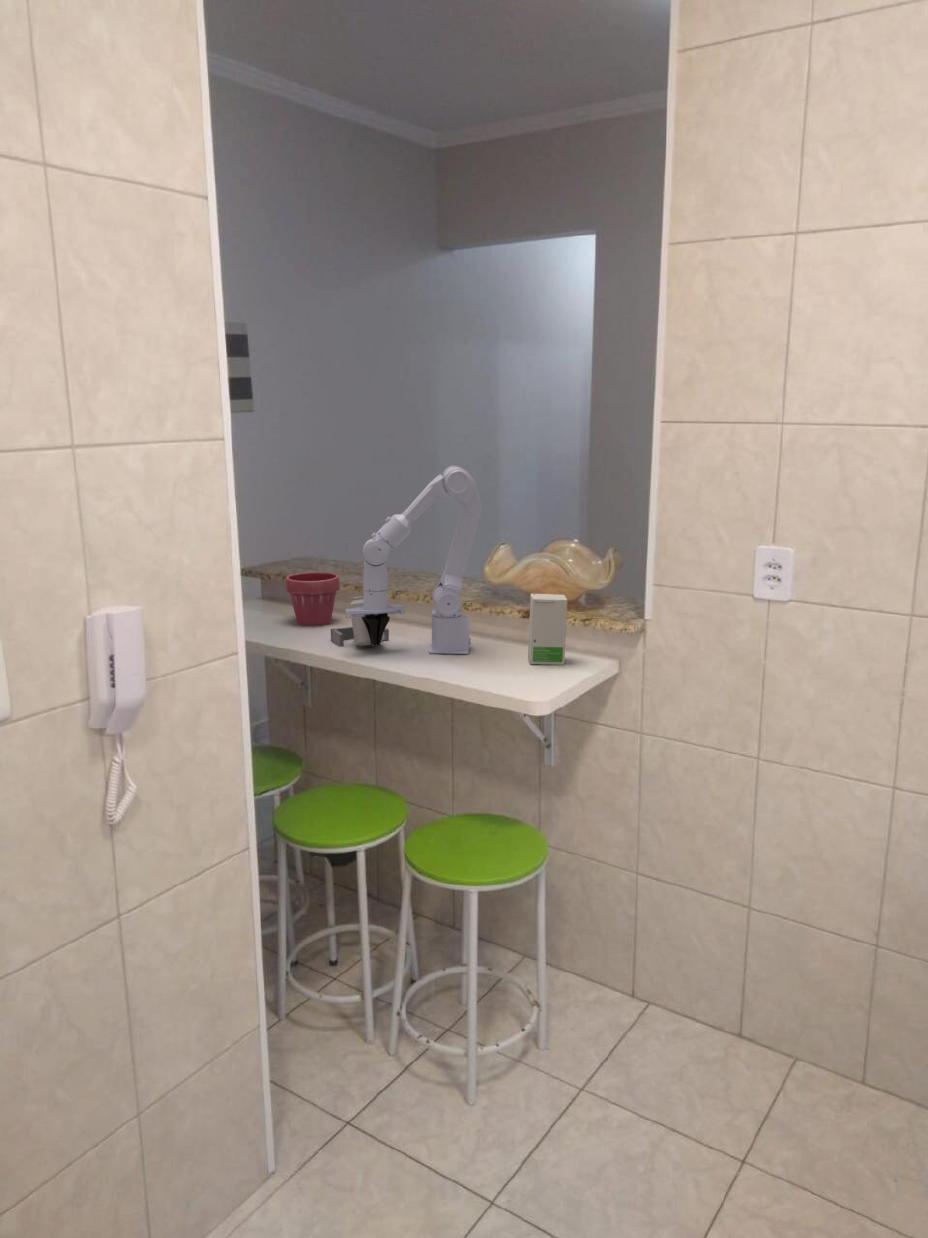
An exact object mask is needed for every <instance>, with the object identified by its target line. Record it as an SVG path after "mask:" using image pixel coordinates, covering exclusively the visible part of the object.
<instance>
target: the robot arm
mask: <svg viewBox="0 0 928 1238" xmlns="http://www.w3.org/2000/svg"><path fill="white" fill-rule="evenodd" d="M447 493H449V494H450V495H451V496H452V497H453V498H454V500H455V502H456V504H457V505H458V506H459V508H460V512H459V515H458V519H457V522H456V527H455V529H454V533H453V536H452V541H451V545H450V548H449V550H448V551H449V552H448V555H447V559H446V563H445V567H444V570H443V572H442V575H441V577H440V578H439V581H438V584H437V585H436V586H435V587H434V589H432V590H433V591H432V594H431V599H432V602H433V603H434V606H435V607H434V609H433V610H432V611H431V644H430V647H429V649H428V653H429V654H442V655H443V654H445V655H446V654H450V655H451V654H452V655H453V654H454V655H457V654H458V655H460V654H461V655H468V654H469V652H470V648H471V647H470V646H471V644H472V640H471V639H472V638H471V633H470V631H471V617H470V614H463V613H462V610H461V609H462V603H463V602H462V598H461V594H462V590H463V579H464V575H465V571H466V569H467V565H468V561H469V557H470V553H471V550H472V546H473V544H474V543H473V542H474V540H475V536H476V531H477V529H478V525H479V523H480V518H481V515H482V511H483V505H482V504H483V503H482V501H481V497H480V494H479V491H478V489H477V484H476V481H475V480H474V478H473V477H472V476H471V474H470V473H469V472H468V471H467V470H465V469H464V468H463V467H461V466H459V465H450V466H448V467H446V468H445V469H444V470H443V471H442V473H439V474H438V475H437V476H436V477H434V479H432V480H431V481H430V482H429V483H428V484H427V486H425V488H424V489H423V490H422V491H421V492H420V493H419V494H418V495H417V496H416V498H415V499H414V500H413V501H412V502H411V503H410V505H408V507H407V508H406V509H405V510H404V511H403V512H402V513H400V514H396V513H395V514H393V515H392V516H389V515H388V516H387V517H386V518H385V523H384V524H383V525H382V526H381V527H380V529H379V530H378V531H377V532H373V533H372V534H371V537H372V538H370V539H368V540H366V542H365V543H364V544H363V548H362V555H363V557H364V562H363V574H362V575H363V581H362V582H363V588H362V589H363V596H364V606H362V607H357V608H352V609H350V608H346V609H345V618H347V619H348V620H349V619H351V620H352V618H355V617H362V620H363V622H364V623H365V626H366V628H367V630H368V633H369V637H370V641H371V645H370V646H373V647H377V646H381V644H382V643H381V639H382V635H383V632H384V630H385V628H387V626H388V624H389V622H390V616H388V615H396V614H400V615H405V614H406V606H405V605H404V604H401V603H400V604H388V596H389V595H388V592H389V589H388V581H389V580H388V577H389V575H388V574H389V573H388V572H389V571H388V569H387V561H388V559H389V556H390V552H392V551H395V550H396V548H398V546H399V545H401V543H402V542H403V541H404V540H405V539H406V538H407V537H408V536H409V535H410V534H411V533H412V529H413V528H412V524H413V523H414V522H415V521H416V520H418V518H419V517H420V516H421V515H422V514H423V513H424V512H425V511H426V510H427V509H428V508H429V507H430V506H431V505H432V504H433V503H434V502H435V501H437V500H442V499H446V498H448V497H449V496H448V494H447Z"/></svg>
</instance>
